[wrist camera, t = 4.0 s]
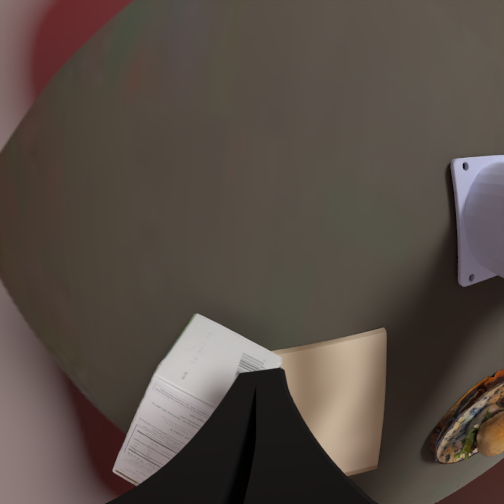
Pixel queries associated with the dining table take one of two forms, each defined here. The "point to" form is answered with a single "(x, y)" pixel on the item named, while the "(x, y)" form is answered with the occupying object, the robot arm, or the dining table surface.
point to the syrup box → (186, 394)
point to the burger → (472, 424)
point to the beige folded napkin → (341, 395)
